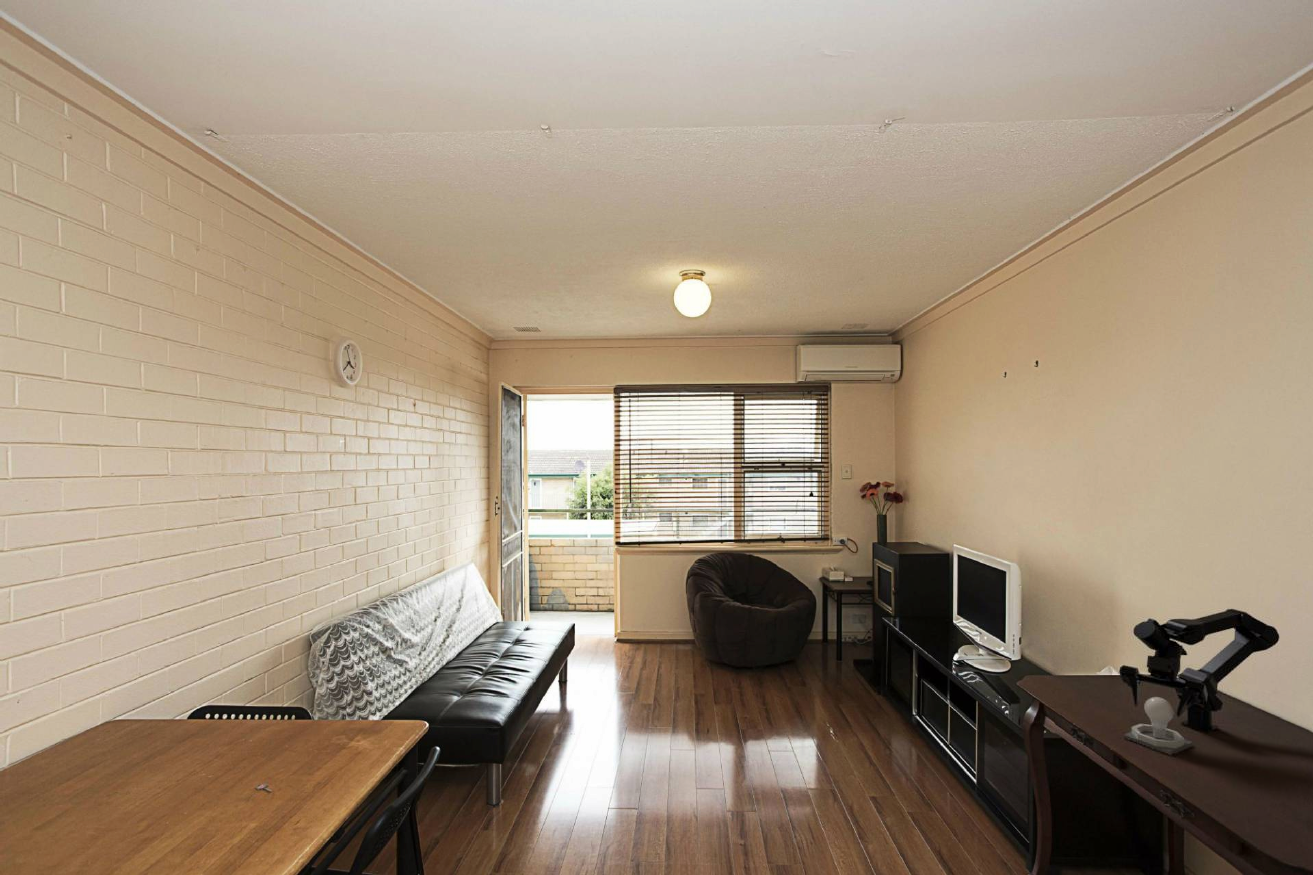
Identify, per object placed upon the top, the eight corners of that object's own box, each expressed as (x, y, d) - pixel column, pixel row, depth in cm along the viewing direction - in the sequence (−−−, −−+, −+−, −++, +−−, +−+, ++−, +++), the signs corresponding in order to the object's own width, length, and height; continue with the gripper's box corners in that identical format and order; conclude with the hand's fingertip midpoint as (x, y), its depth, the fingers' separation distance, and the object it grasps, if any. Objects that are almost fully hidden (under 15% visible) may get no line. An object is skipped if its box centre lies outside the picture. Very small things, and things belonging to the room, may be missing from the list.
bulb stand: (1146, 729, 184) (1145, 721, 184) (1192, 746, 175) (1192, 736, 175) (1123, 738, 179) (1123, 729, 179) (1170, 755, 170) (1170, 745, 170)
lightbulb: (1179, 745, 173) (1179, 703, 173) (1152, 743, 174) (1152, 701, 174) (1165, 734, 179) (1165, 694, 179) (1139, 732, 181) (1139, 692, 181)
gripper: (1120, 636, 187) (1108, 685, 180) (1204, 652, 173) (1195, 705, 166) (1129, 657, 192) (1118, 705, 185) (1211, 675, 178) (1202, 727, 171)
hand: (1156, 710), depth 176 cm, fingers open, 9 cm apart
